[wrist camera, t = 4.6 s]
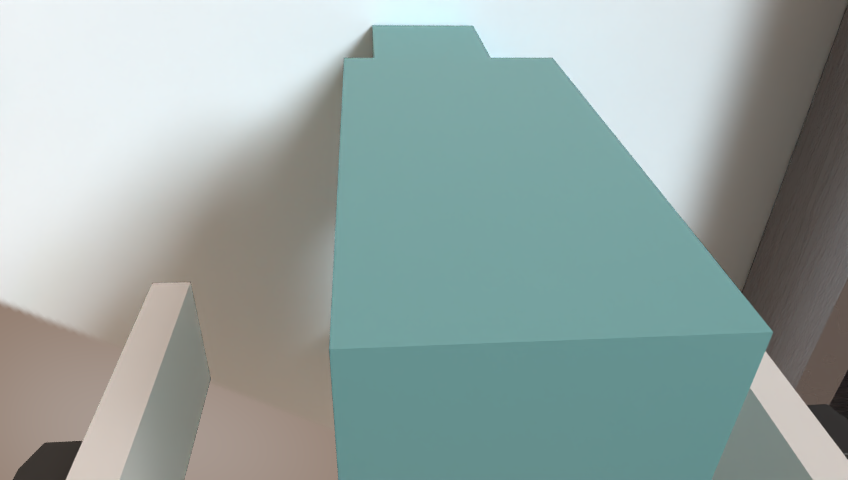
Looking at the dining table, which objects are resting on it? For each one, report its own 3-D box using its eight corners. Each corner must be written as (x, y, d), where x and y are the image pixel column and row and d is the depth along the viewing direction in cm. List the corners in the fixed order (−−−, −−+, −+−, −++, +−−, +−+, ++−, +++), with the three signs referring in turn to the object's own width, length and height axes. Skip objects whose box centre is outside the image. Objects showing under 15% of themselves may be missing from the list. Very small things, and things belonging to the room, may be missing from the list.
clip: (347, -11, 15) (329, 348, 5) (499, -9, 15) (773, 331, 5) (361, 372, 21) (365, 861, 11) (466, 367, 22) (560, 839, 12)
